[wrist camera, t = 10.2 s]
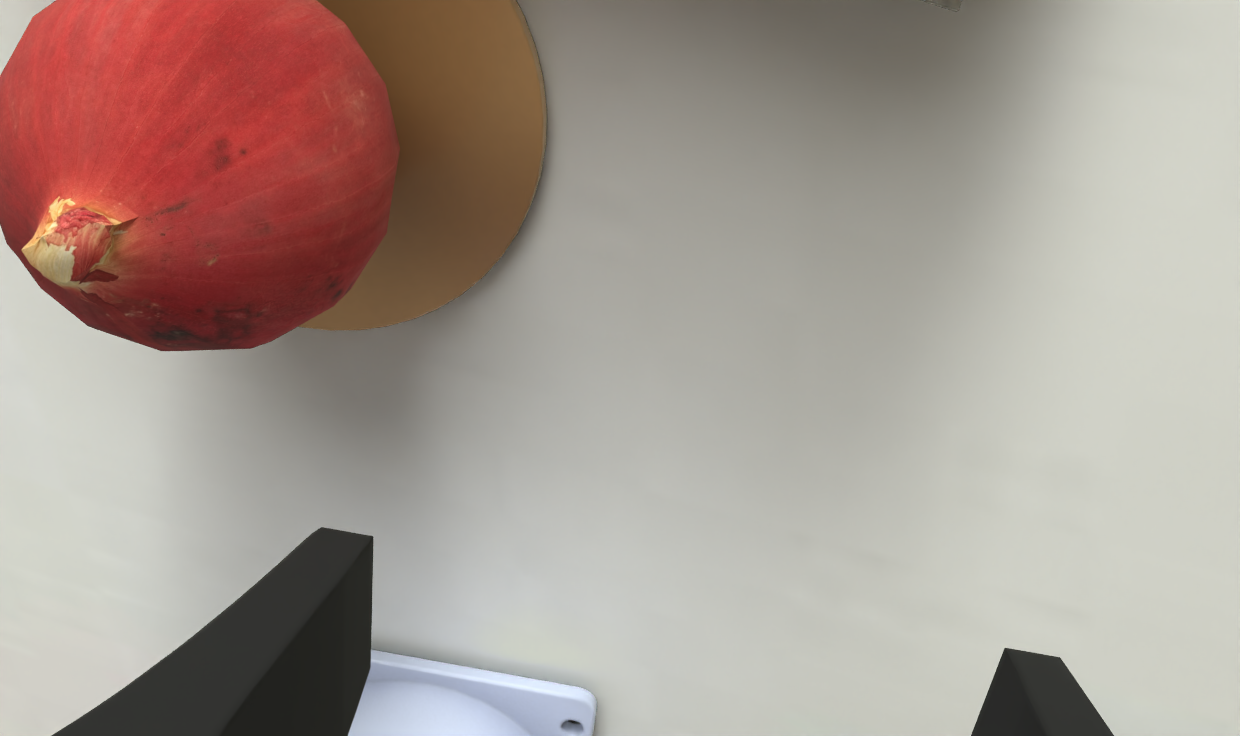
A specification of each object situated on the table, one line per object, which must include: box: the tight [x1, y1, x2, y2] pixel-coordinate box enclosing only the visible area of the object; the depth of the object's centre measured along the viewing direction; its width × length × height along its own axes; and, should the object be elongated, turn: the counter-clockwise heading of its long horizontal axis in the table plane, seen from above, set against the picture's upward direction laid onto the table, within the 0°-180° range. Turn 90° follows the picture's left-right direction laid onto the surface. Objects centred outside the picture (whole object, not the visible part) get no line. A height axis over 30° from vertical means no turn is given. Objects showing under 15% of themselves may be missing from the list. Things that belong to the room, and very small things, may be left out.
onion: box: [0, 0, 400, 351], centre depth 18 cm, size 6×6×8 cm
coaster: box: [299, 0, 547, 330], centre depth 22 cm, size 9×9×1 cm
